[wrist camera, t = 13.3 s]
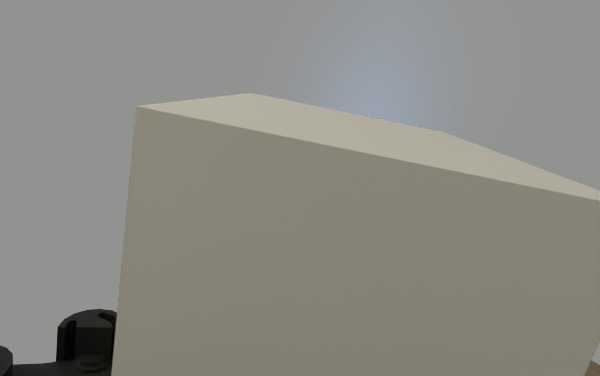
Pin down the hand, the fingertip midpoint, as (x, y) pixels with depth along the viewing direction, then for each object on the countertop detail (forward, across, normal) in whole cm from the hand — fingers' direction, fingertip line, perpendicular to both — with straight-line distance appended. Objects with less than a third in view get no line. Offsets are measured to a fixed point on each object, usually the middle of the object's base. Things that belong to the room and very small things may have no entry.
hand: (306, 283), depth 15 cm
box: (-5, 0, -10) cm, 11 cm away
